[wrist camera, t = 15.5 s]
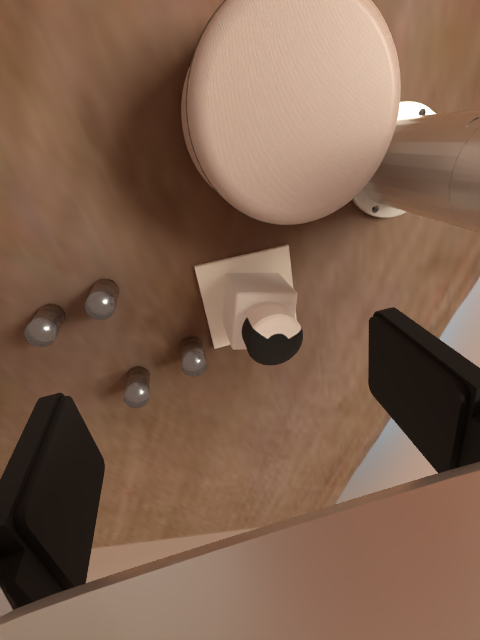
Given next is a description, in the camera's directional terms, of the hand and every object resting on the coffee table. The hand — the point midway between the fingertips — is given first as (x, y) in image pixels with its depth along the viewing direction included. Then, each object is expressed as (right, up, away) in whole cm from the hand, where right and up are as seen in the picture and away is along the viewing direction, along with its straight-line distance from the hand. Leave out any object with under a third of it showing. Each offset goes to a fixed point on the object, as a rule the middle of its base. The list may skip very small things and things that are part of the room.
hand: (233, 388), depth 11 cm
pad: (+1, +5, +36) cm, 36 cm away
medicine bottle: (+2, +5, +35) cm, 36 cm away
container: (+3, +24, +27) cm, 36 cm away
